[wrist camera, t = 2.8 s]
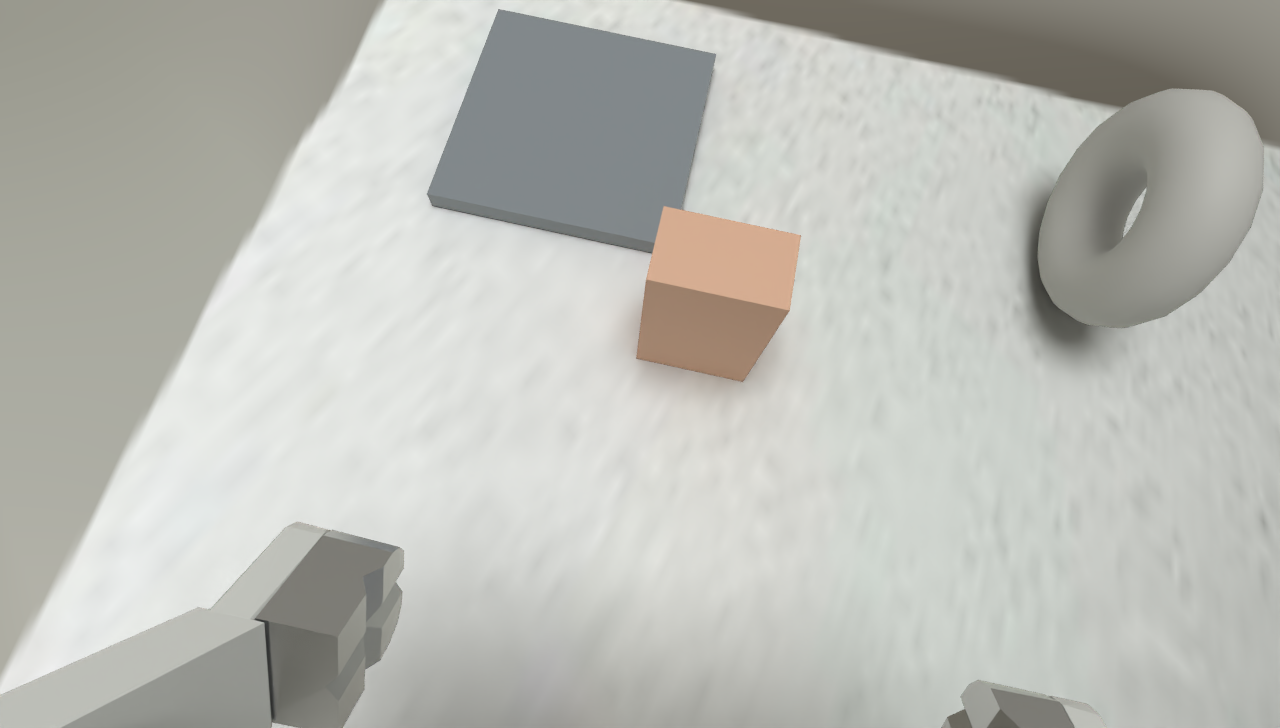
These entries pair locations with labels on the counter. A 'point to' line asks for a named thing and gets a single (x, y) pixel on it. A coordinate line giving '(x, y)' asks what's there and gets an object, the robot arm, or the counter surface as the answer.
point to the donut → (1151, 208)
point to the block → (715, 293)
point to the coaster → (575, 131)
